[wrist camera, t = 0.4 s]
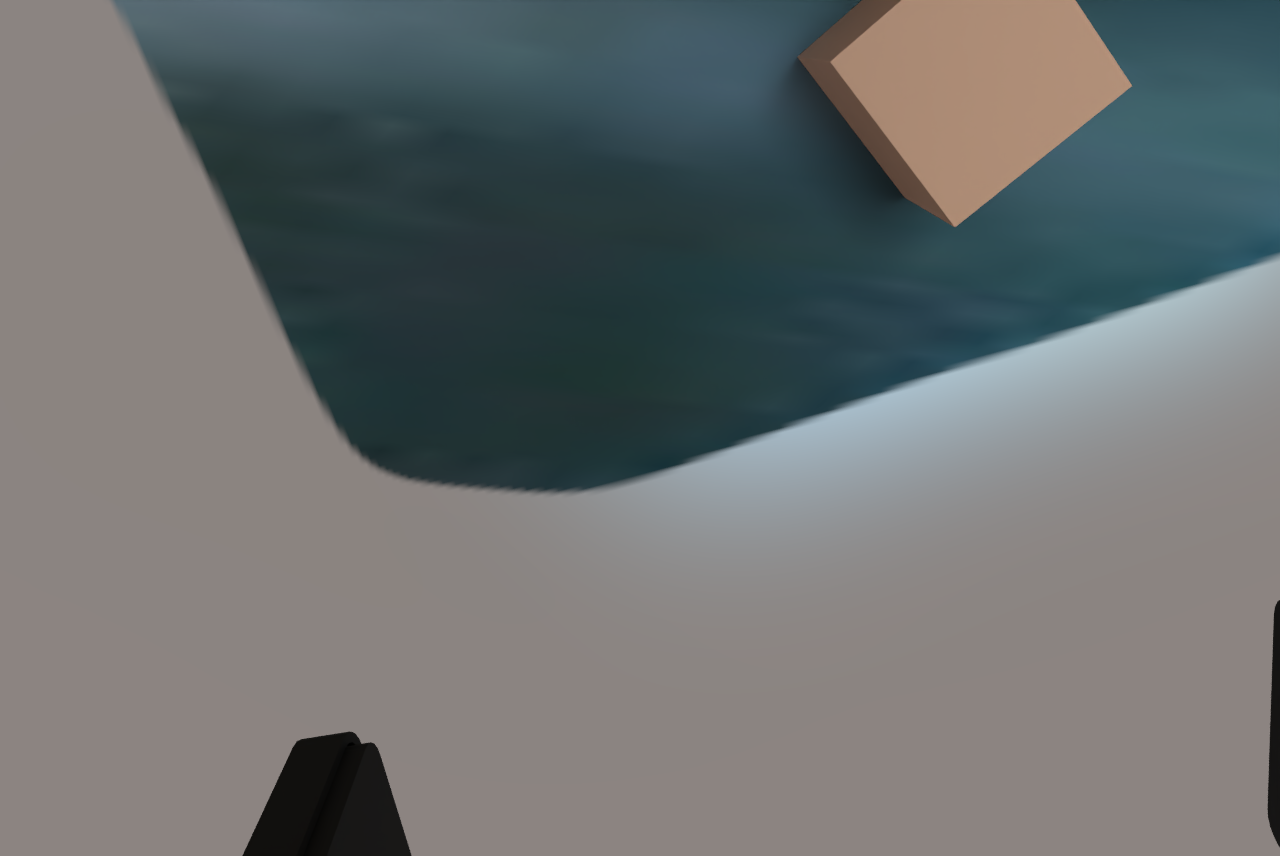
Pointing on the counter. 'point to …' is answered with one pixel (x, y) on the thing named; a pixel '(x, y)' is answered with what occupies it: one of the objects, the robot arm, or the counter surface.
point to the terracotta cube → (963, 90)
